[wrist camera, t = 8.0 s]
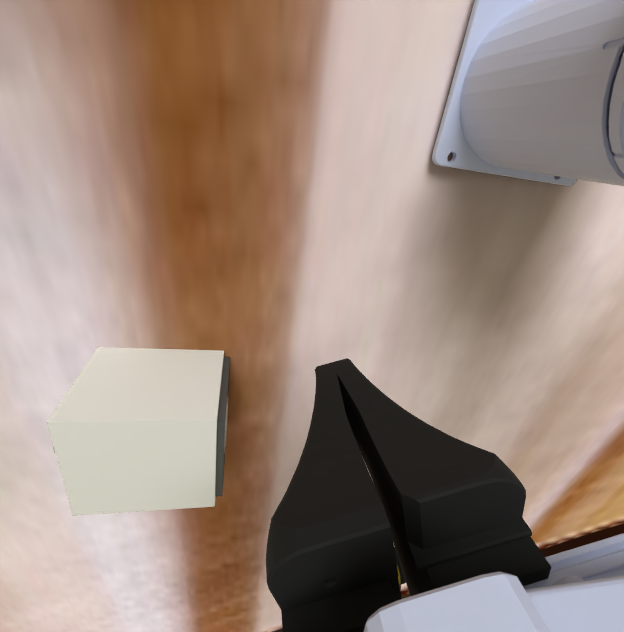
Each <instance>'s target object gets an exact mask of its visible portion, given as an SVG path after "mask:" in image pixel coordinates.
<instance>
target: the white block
mask: <svg viewBox="0 0 624 632" xmlns="http://www.w3.org/2000/svg"><path fill="white" fill-rule="evenodd" d="M229 365H230V357H224V351H217V350H181V349H145V348H109V347H98V348H97V349H96V351H95V352H94V354H93V355H92V357H91V358H90V360H89V361H88V362H87V364H86V365H85V367H84V368H83V370H82V371H81V373H80V374H79V376H78V377H77V379H76V380H75V382H74V383H73V384H72V386H71V387H70V389H69V390H68V392H67V393H66V395H65V396H64V398H63V399H62V401H61V402H60V404H59V405H58V406H57V408H56V409H55V411H54V412H53V414H52V415H51V417H50V418H49V420H48V421H47V425H48V429H49V432H50V436H51V439H52V443H53V447H54V450H55V454H56V457H57V461H58V464H59V468H60V472H61V475H62V479H63V482H64V486H65V490H66V493H67V497H68V500H69V504H70V508H71V511H72V515H73V516H75V515H90V514H106V513H121V512H137V511H152V510H167V509H183V508H198V507H214V506H215V497H216V496H222V490H223V475H224V460H225V453H224V443H225V420H226V406H227V394H228V389H229Z"/></svg>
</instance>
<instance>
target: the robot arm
mask: <svg viewBox="0 0 624 632" xmlns="http://www.w3.org/2000/svg"><path fill="white" fill-rule="evenodd" d="M451 152H452V154H453V158H452V160H451V161H449V162H448V160H447V158H448V155H449V154H450V153H451ZM432 160H433V162H434V164H436V165H439V166H445V167H451V168H457V169H464V170H470V171H476V172H483V173H489V174H495V175H501V176H508V177H514V178H520V179H527V180H533V181H539V182H546V183H552V184H558V185H564V186H571V185H573V184H574V183H575V182H576V181H577V180H578V179H580V180H586V181H593V182H599V183H606V184H613V185H619V186H624V0H475V2H474V5H473V9H472V12H471V16H470V20H469V23H468V27H467V31H466V34H465V38H464V41H463V45H462V49H461V52H460V56H459V60H458V63H457V67H456V70H455V74H454V78H453V81H452V85H451V88H450V92H449V96H448V99H447V103H446V107H445V110H444V114H443V117H442V121H441V125H440V128H439V132H438V136H437V139H436V143H435V146H434V150H433V154H432ZM554 176H556V177H555V178H554ZM315 373H316V394H315V403H314V410H313V415H312V420H311V425H310V429H309V433H308V437H307V440H306V443H305V447H304V450H303V452H302V455H301V458H300V461H299V464H298V466H297V469H296V471H295V473H294V475H293V478H292V480H291V482H290V484H289V487H288V489H287V491H286V493H285V495H284V497H283V499H282V500H281V502H280V504H279V506H278V508H277V510H276V511H275V513H274V515H273V517H272V519H271V524H270V529H269V535H268V542H267V553H266V572H267V584H268V587H269V590H270V592H271V593H272V595H273V597H274V598H275V600H276V602H277V603H278V605H279V607H280V608H281V611H282V625H283V632H624V533H623V534H620V535H617V536H614V537H610V538H607V539H604V540H601V541H598V542H594V543H591V544H587V545H584V546H581V547H578V548H575V549H571V550H568V551H565V552H561V553H558V554H555V555H551V556H548V557H544V555H543V554H542V553H541V551H540V550H539V548H538V547H537V545H536V544H535V542H534V541H533V540H532V538H531V537H530V536H532V532H531V529H530V528H529V527H528V525H527V524H526V522H525V521H524V520H523V518H522V515H523V510H524V504H525V499H526V490H525V488H524V487H523V485H522V483H521V482H520V481H519V479H518V478H517V477H516V476H515V474H514V473H513V472H512V471H511V470H510V469H509V468H508V467H507V466H506V465H505V464H504V463H503V462H502V461H501V460H500V459H499V458H498V457H497V456H496V455H495V454H494V453H491V452H488V451H486V450H483V449H480V448H478V447H475V446H472V445H470V444H467V443H465V442H462V441H460V440H458V439H456V438H454V437H451V436H449V435H447V434H446V433H444V432H442V431H440V430H438V429H436V428H434V427H432V426H430V425H428V424H427V423H425V422H423V421H422V420H420V419H418V418H417V417H415V416H414V415H412V414H411V413H409V412H407V411H406V410H404V409H403V408H402V407H400V406H399V405H398V404H396V403H395V402H394V401H392V400H391V399H390V398H388V397H387V396H386V395H385V394H384V393H382V392H381V391H380V390H379V389H378V388H377V387H376V386H374V385H373V384H372V383H371V382H370V381H369V380H368V379H367V378H366V377H365V376H364V375H363V374H362V373H361V372H360V371H359V370H358V369H357V368H356V367H355V365H354V364H353V363H352V362H351V360H349V359H343V360H339V361H336V362H332V363H328V364H325V365H321V366H317V367H316V369H315ZM361 454H362V455H361ZM363 459H364V460H363ZM364 461H365V462H364ZM365 463H366V465H365ZM366 466H367V467H366ZM367 468H368V470H369V472H368V470H367ZM369 473H370V474H369ZM370 475H371V477H370ZM371 478H372V479H371ZM372 480H373V481H372ZM373 483H374V484H373ZM393 543H394V545H393ZM394 546H395V549H396V552H397V555H398V558H399V561H400V564H401V567H402V571H403V574H404V577H405V580H406V583H407V586H408V589H409V593H410V596H411V597H408V598H405V599H401V592H400V586H399V580H398V576H399V575H398V569H397V563H396V557H395V551H394Z"/></svg>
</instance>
